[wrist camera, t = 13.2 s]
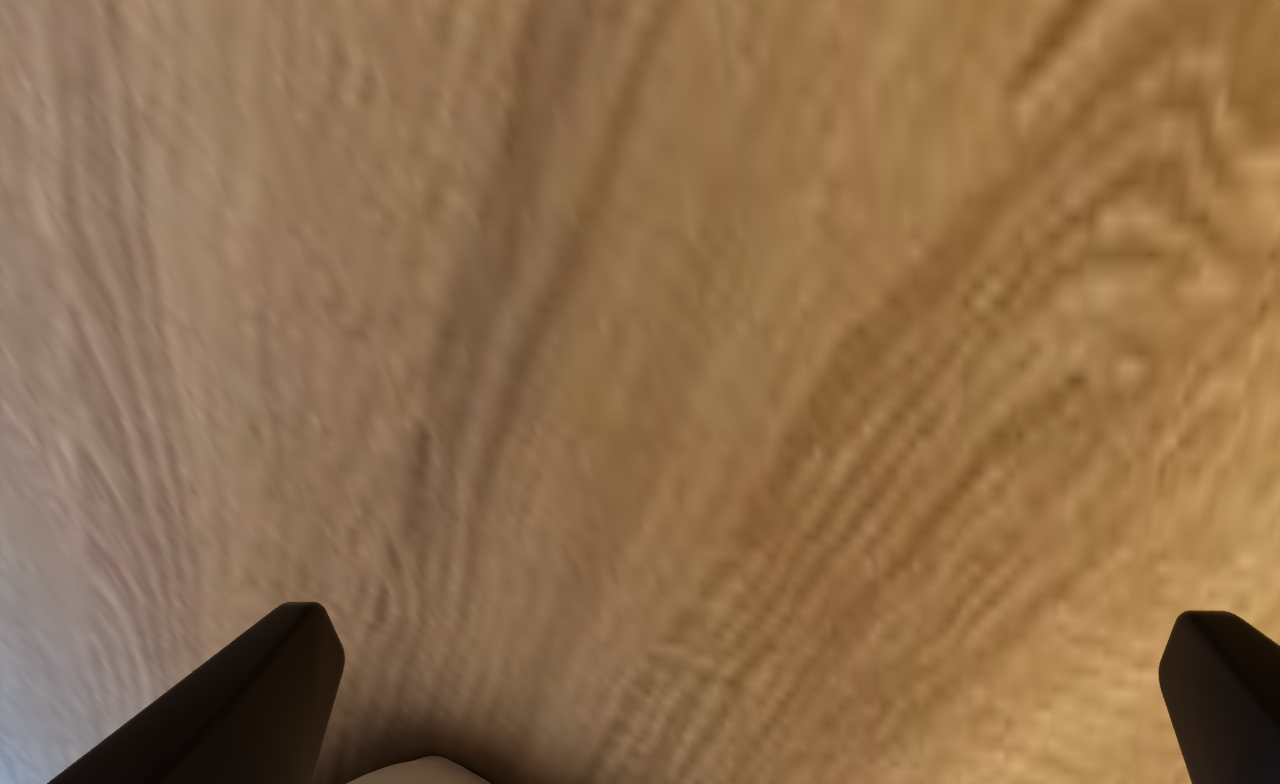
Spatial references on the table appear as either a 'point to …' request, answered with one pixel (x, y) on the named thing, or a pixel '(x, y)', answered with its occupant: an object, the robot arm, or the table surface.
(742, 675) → the table surface
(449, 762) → the bowl
